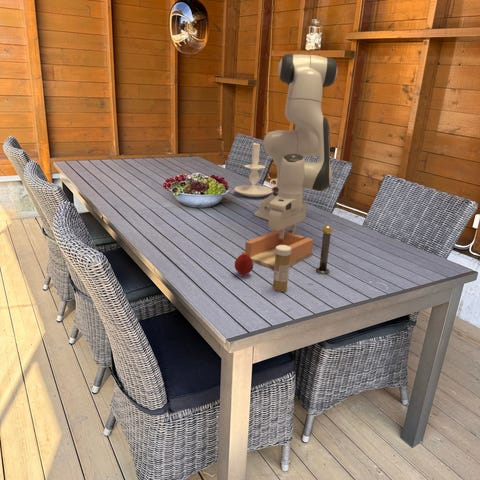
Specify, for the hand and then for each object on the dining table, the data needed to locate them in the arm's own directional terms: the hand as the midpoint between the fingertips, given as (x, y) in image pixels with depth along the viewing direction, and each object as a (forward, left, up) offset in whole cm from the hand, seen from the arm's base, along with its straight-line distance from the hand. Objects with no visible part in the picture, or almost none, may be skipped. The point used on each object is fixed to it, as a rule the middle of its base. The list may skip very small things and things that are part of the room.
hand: (286, 236), depth 168 cm
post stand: (+21, -9, -5) cm, 23 cm away
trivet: (+3, -9, -5) cm, 10 cm away
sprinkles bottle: (+18, -30, -5) cm, 35 cm away
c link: (+3, -9, -3) cm, 10 cm away
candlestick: (-55, +58, -5) cm, 80 cm away
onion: (+4, -30, -5) cm, 31 cm away
